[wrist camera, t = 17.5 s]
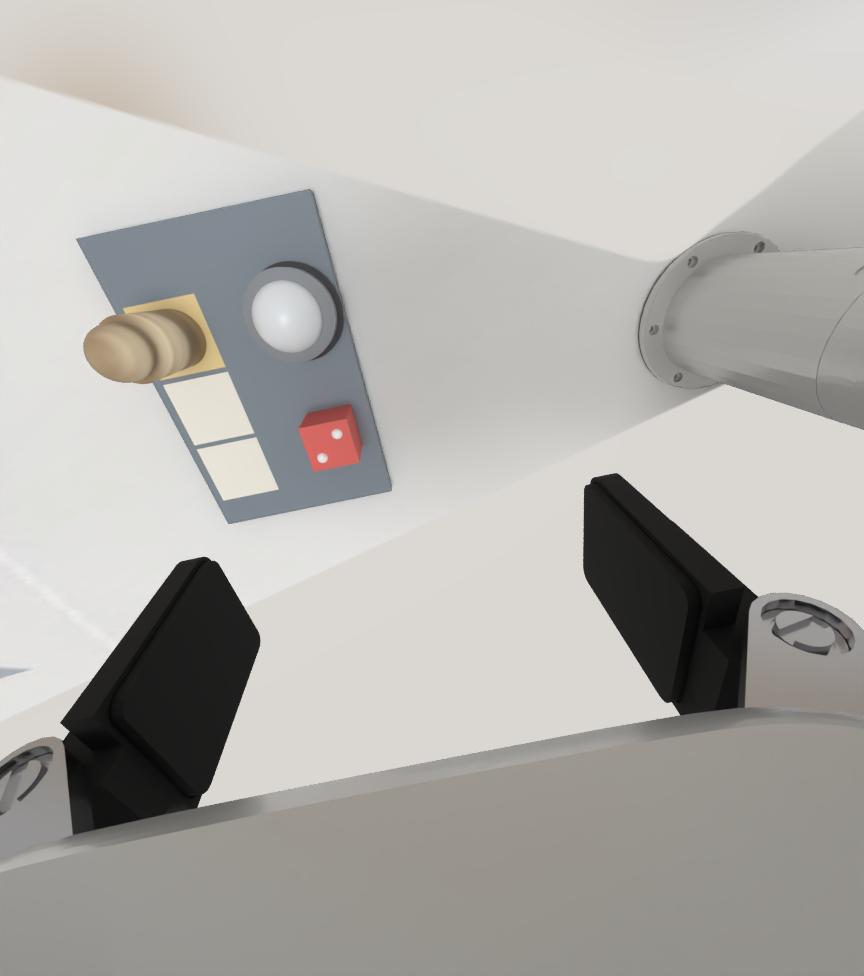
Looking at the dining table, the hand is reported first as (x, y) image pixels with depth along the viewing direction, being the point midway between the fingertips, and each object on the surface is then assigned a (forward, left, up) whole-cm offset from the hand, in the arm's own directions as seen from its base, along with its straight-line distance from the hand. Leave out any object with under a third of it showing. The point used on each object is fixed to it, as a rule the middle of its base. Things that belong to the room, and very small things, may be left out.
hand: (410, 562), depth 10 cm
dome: (+7, -5, -26) cm, 27 cm away
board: (+12, 0, -28) cm, 31 cm away
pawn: (+17, -5, -27) cm, 32 cm away
